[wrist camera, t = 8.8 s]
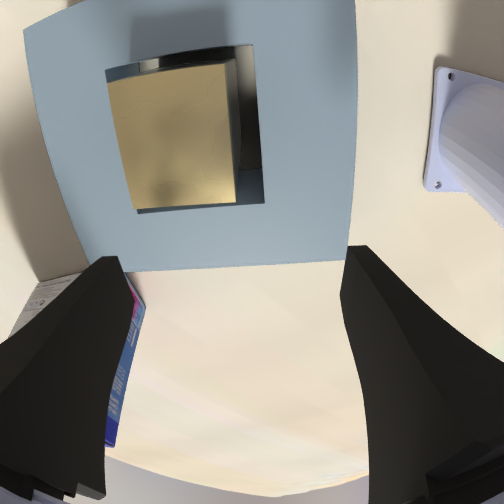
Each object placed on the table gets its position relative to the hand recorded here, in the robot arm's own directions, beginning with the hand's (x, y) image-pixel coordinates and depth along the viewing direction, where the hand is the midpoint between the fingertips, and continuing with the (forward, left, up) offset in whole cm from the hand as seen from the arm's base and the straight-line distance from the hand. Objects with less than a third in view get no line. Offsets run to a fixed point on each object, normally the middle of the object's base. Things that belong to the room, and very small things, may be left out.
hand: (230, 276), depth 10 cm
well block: (+2, -3, -9) cm, 10 cm away
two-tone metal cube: (+2, -4, -9) cm, 10 cm away
